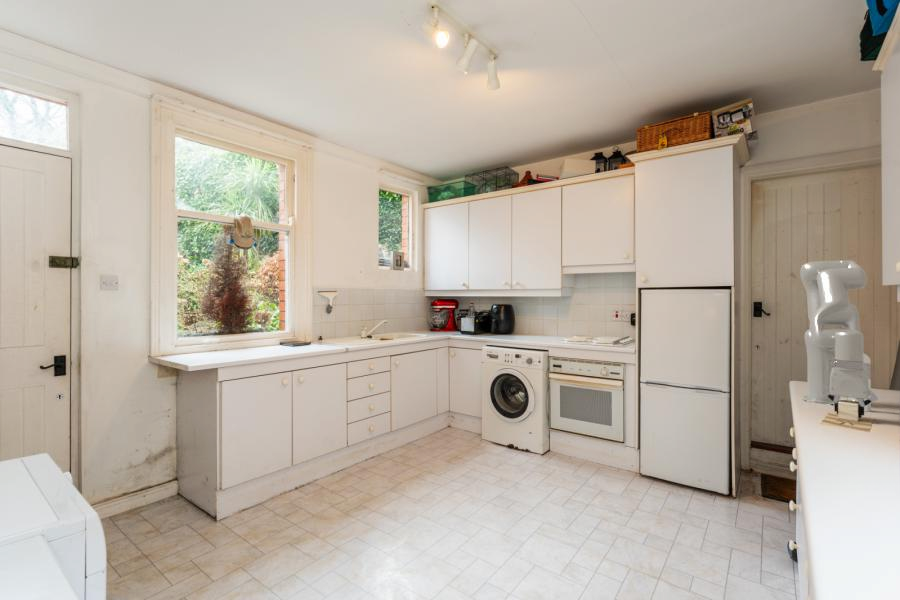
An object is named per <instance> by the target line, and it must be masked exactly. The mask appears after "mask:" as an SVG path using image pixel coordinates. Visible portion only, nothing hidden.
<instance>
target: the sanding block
mask: <svg viewBox="0 0 900 600" xmlns="http://www.w3.org/2000/svg"><path fill="white" fill-rule="evenodd" d="M839 400H840V401H839V402H838V419H841V420H847V421H854V422H858V420H859V417H858V407H859V401H855V400H847V399H846V398H840V399H839Z"/></svg>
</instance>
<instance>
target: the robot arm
mask: <svg viewBox="0 0 900 600" xmlns="http://www.w3.org/2000/svg"><path fill="white" fill-rule="evenodd" d="M799 273H800V274H799V276H800V280H801V282H802V285H803V287H804V290H805V292H806V301H807V302H806V305H807V317H808V320H809V329H807V330H806V331H805V333H804V343H805V349H806V358H807V359H806V360H807V362H806V363H807V364H806V365H807V366H806V367H807V369H806V371H807V372H806V373H807V380H806V381H807V384H806V385H807V387H806V388H807V391H806V392H807V393H806V394H807V395H804V396H802V400H803V399H804V400H803V401H805V400H806V401H805V402H808V401H809V402H808V403H812V402H814V403H813V404H819V403H820V404H821V405H826V404H834V405H833V409H834V410H833V411H834V412H835V413H837V414H838V402H839V401H840V399H841V397H842V398H843V397H844V398H847V397H850V398H858V401H859V407H858V417H859V418H861V417H865V411H864V406H866V405H868V404H869V403H871V404H872V403H873V402H875V401H878V400H879V397H878V396H877V395H876V393H874V392H873V391H872V390H870V389H869V382H868V376H867V372H866V370H864V349H865V346H864V344H865V343H864V338H865V337H864V334H863V332H861V328H860V326H861V325H860V313H859V310H858V307H857V306H856V305H855V304H853V303H851V300H850V295H849V290H860V289H862V290H863V289H864V288H865V286H867V282H868V277H867V274H866V271H865V270H864V269H863V268H862V267H861V266H860V264H858V263H857V262H856V261H853V260H850V259H849V260H847V259H845V260H817V261H816V260H815V261H809V262H806V263H803V264H802V265H801V267H800V271H799ZM821 325H825V326H827V325H828V326H842V327H841V328H840V327H838V328H837V327H821ZM833 351H834V356H833V355H832V354H831V353H830V352H833ZM869 395H870V396H871V398H869V399H867V400H865V401H864V399H866V398H868V396H869Z"/></svg>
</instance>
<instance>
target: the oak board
mask: <svg viewBox="0 0 900 600" xmlns="http://www.w3.org/2000/svg"><path fill="white" fill-rule="evenodd" d="M874 420H875V418H873V417H865V416H862V417H861V418H859V420H858V422H854V421H847V420H841V419H838V414H837V412H833V411H831V412H830V411H829V412H828V413H827V414H826V415H825V417H824V418H823V420H822V421H820V425H824V426H830V427H835V428H836V427H838V428H842V429H848V430H849V429H850V430H853V431H854V430H855V431H861V432H867V433H870V431H871V428H872V425H873V423H874Z"/></svg>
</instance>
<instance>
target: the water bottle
mask: <svg viewBox="0 0 900 600" xmlns="http://www.w3.org/2000/svg"><path fill="white" fill-rule="evenodd" d="M871 361H872V360H871V358H870V357H869V355H867V354H866V353H864V370H866V372H867V376H868V382H869V389H870V390H871V389H872V387H871V386H872V383H871V381H872V380H871ZM871 391H872V390H871ZM869 398H871V396H870V395H869V396H868V398H866V399H864V401H865V400H867V399H869ZM845 399H847V400H855V401H858V398H850V397H845ZM871 405H872V402H871V403H869V404H868V405H866V406H864V412H871V411H872V406H871Z"/></svg>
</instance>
